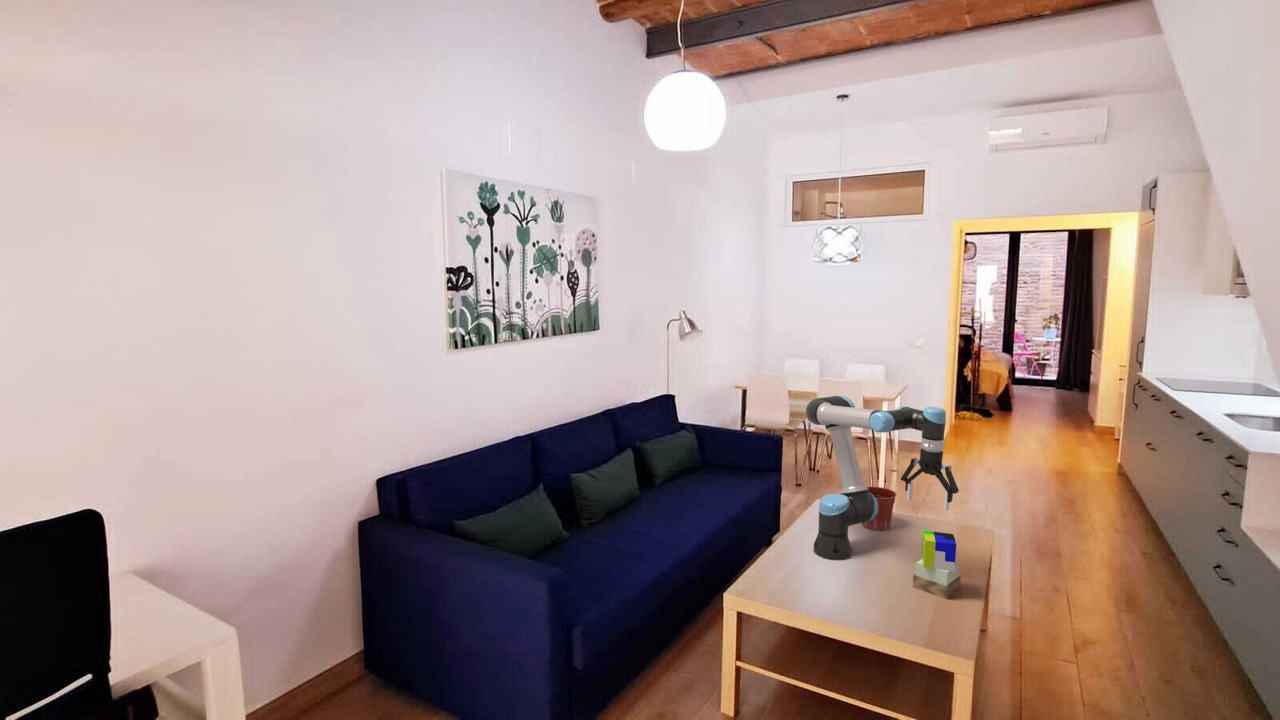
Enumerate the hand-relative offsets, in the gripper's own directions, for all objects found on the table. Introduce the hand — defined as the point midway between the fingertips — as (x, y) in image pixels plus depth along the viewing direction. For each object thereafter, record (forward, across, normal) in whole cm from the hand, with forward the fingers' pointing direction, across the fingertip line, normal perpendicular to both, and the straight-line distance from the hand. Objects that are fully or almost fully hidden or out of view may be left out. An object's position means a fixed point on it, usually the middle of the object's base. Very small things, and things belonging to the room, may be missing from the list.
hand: (927, 505), depth 235 cm
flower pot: (+30, -37, +37) cm, 60 cm away
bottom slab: (+29, +7, -4) cm, 30 cm away
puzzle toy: (+19, +7, -5) cm, 21 cm away
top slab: (+24, +7, -4) cm, 25 cm away
